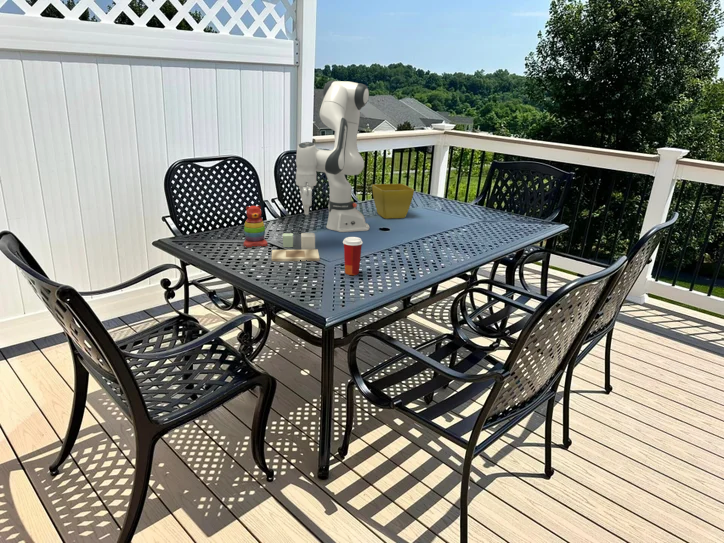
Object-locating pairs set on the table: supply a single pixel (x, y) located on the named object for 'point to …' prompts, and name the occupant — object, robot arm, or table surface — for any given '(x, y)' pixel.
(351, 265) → the paper cup
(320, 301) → the table surface
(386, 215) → the flower pot
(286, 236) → the sage cube
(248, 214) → the stacking bear
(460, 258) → the table surface
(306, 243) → the cream block
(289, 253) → the base board
